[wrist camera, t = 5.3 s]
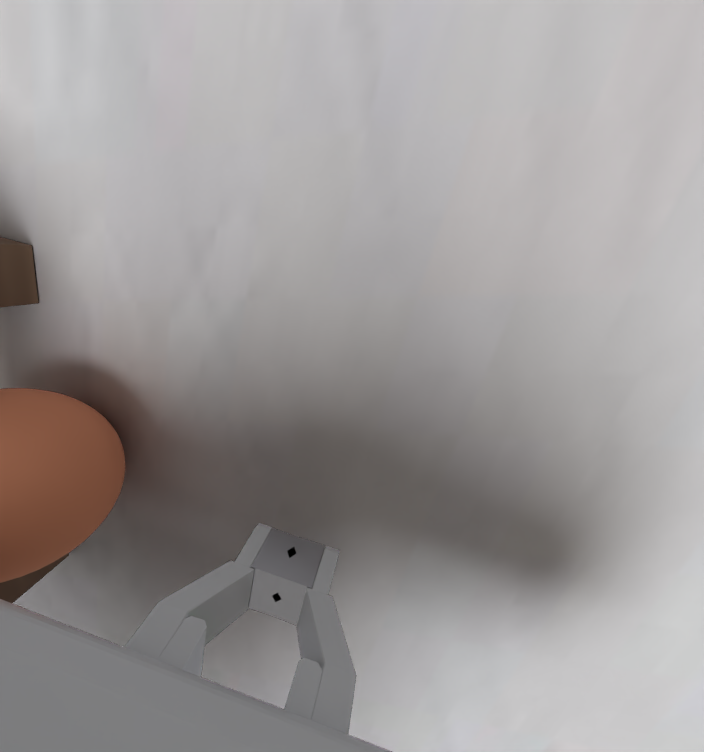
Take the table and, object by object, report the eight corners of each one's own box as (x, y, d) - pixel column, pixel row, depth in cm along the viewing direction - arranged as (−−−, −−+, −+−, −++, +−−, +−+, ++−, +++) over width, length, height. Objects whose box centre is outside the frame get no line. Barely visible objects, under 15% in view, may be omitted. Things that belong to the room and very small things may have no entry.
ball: (-151, 541, 10) (75, 458, 15) (-79, 689, 8) (153, 538, 13) (-223, 379, 8) (73, 345, 13) (-146, 533, 6) (167, 421, 11)
